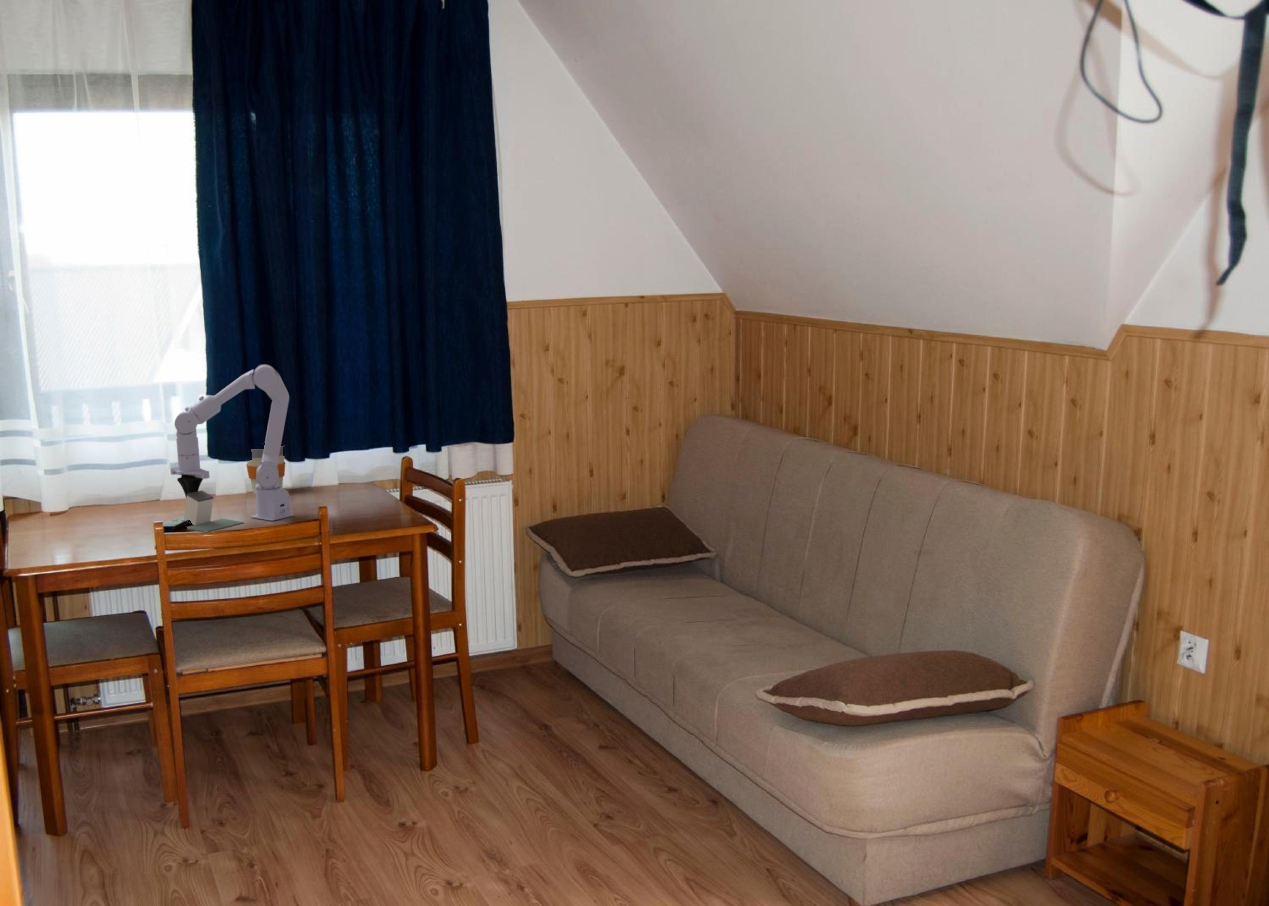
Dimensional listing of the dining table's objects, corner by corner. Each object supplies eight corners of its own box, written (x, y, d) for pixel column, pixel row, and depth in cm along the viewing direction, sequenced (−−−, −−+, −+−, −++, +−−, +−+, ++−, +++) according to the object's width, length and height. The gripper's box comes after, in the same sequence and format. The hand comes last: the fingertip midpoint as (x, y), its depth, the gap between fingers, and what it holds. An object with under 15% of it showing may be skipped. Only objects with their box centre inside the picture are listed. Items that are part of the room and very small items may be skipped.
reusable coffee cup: (296, 490, 377) (293, 444, 375) (266, 497, 366) (263, 450, 364) (269, 486, 383) (266, 441, 381) (238, 493, 373) (235, 447, 370)
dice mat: (243, 523, 330) (243, 522, 330) (205, 532, 320) (205, 531, 319) (222, 519, 335) (222, 518, 335) (184, 528, 324) (184, 527, 324)
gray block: (210, 522, 332) (213, 496, 330) (195, 525, 328) (198, 500, 325) (198, 515, 334) (201, 490, 332) (184, 519, 330) (187, 493, 328)
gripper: (159, 454, 329) (163, 501, 332) (193, 458, 322) (196, 506, 324) (181, 450, 335) (184, 496, 337) (214, 454, 328) (217, 501, 330)
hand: (191, 501), depth 331 cm, fingers closed
